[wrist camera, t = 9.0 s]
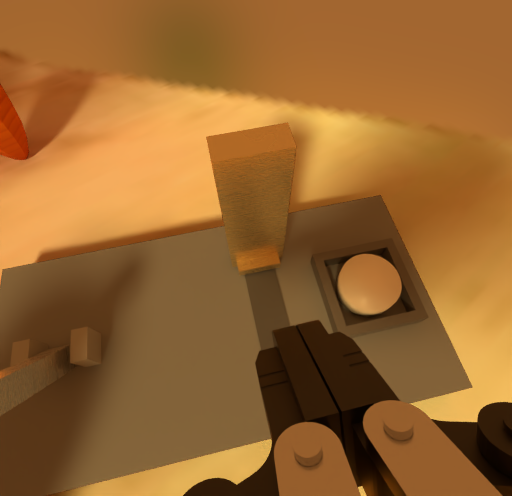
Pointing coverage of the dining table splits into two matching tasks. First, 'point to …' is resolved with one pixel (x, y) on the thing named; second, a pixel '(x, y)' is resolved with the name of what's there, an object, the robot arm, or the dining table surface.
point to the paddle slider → (254, 192)
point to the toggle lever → (32, 376)
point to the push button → (368, 285)
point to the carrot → (11, 130)
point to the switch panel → (193, 344)
